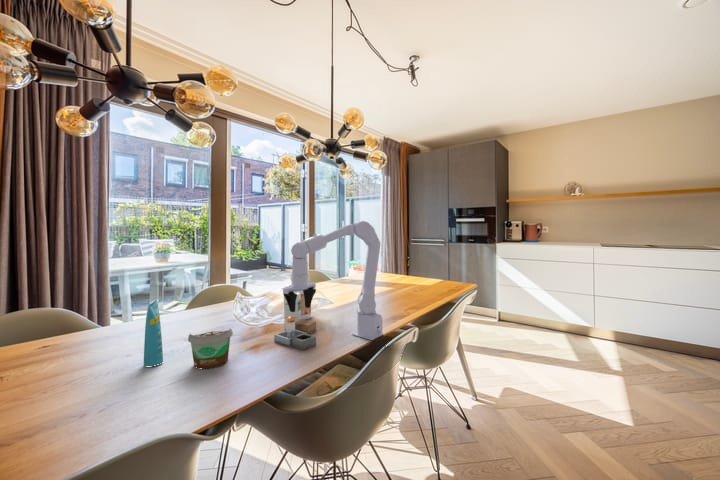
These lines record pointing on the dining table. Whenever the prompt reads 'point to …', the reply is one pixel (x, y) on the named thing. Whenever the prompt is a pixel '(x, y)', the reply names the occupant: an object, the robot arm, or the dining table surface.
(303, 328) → the chock
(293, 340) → the socket
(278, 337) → the tray
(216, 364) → the food container
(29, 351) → the dining table surface
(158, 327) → the tube
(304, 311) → the fruit juice
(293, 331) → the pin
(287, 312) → the syrup box
